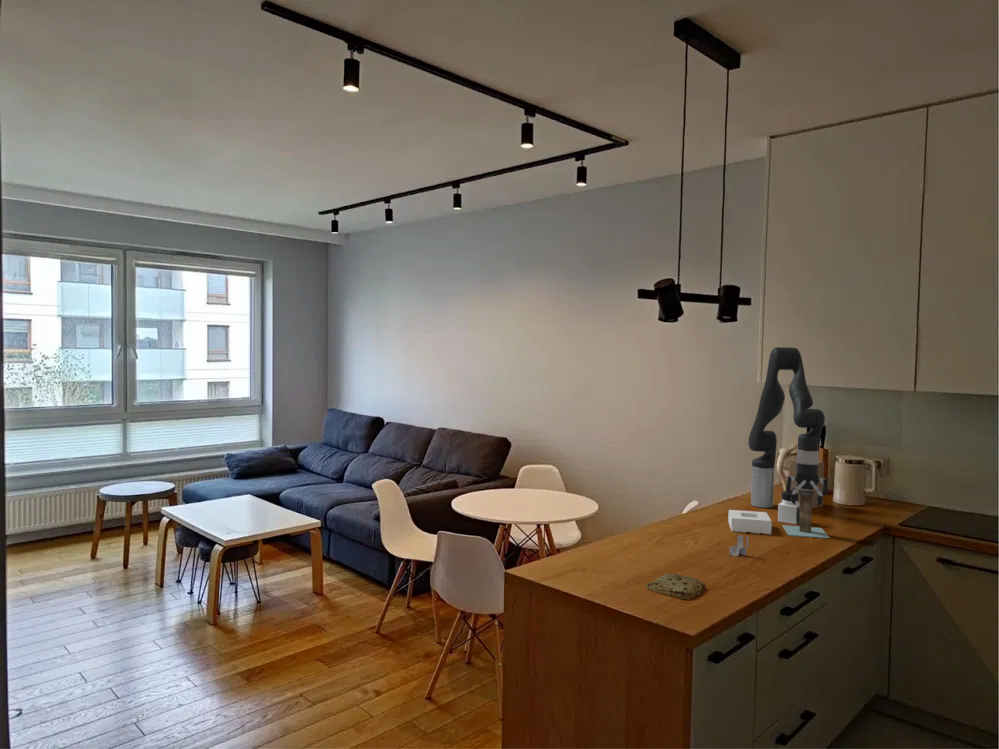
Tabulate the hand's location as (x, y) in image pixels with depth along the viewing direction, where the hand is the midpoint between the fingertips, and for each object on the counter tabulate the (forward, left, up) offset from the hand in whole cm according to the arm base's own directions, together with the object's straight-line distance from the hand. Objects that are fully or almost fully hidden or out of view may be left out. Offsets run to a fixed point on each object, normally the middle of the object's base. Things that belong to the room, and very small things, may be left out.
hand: (806, 504), depth 251 cm
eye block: (0, -20, -10) cm, 23 cm away
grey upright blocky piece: (+42, -25, -11) cm, 50 cm away
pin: (0, 0, -10) cm, 10 cm away
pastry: (+76, -48, -11) cm, 91 cm away
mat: (0, 0, -10) cm, 10 cm away
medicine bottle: (-16, -3, -11) cm, 19 cm away
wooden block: (-48, +9, -11) cm, 50 cm away
